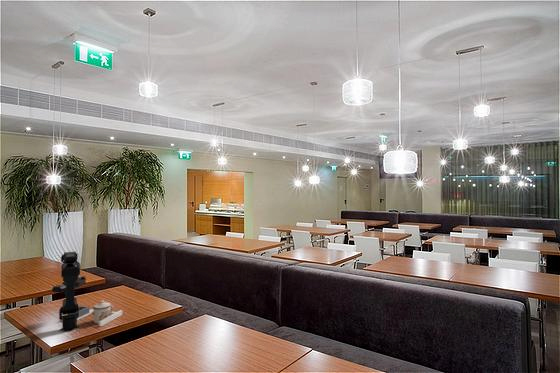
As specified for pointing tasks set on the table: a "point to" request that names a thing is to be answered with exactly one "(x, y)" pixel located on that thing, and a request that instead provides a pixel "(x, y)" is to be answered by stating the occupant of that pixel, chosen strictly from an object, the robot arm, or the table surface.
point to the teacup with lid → (102, 311)
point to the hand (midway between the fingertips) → (69, 299)
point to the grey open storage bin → (86, 311)
